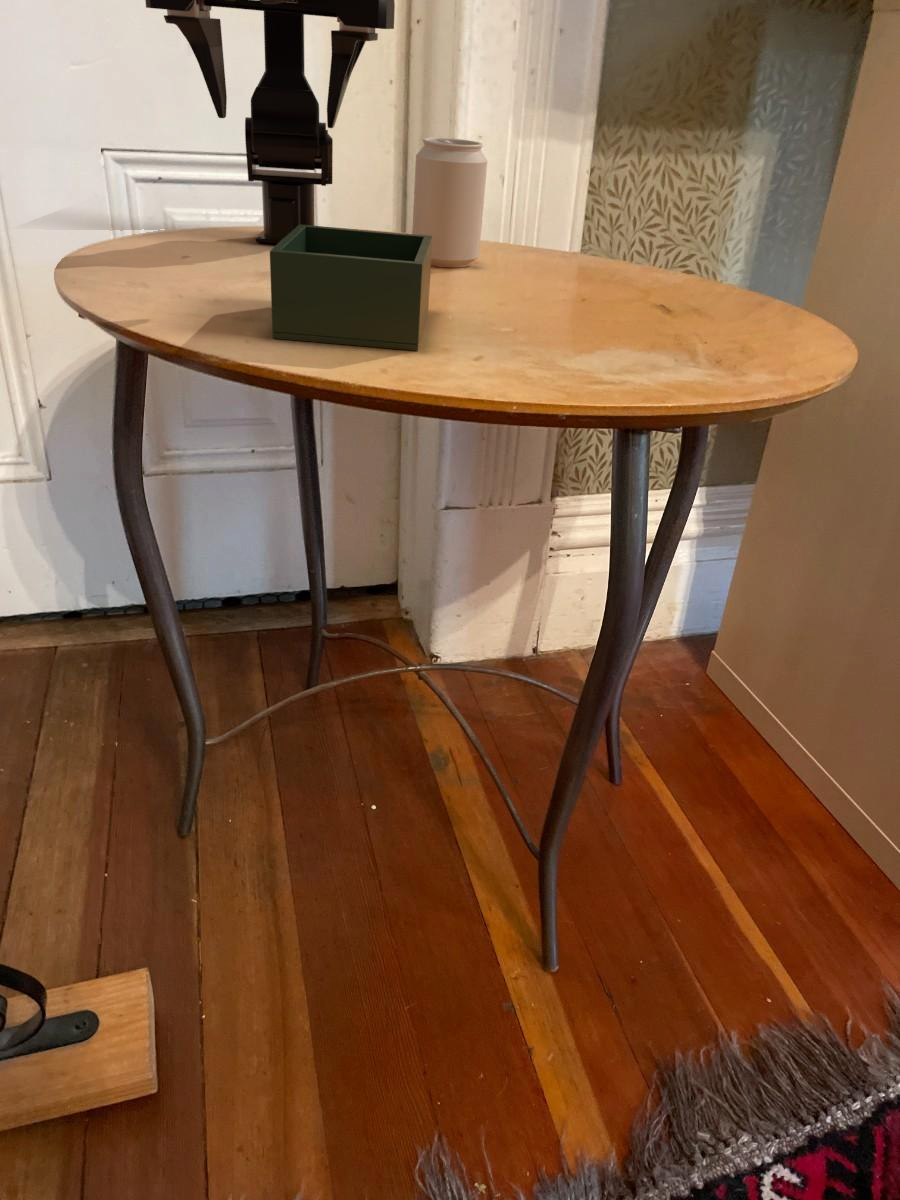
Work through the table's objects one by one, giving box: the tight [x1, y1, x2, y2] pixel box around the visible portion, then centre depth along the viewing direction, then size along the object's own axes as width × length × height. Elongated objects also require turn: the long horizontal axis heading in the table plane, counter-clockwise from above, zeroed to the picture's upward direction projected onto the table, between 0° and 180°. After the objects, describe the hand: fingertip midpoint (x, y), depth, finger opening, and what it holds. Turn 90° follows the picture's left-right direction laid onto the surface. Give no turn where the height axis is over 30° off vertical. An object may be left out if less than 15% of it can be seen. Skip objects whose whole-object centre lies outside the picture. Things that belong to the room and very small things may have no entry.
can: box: [411, 137, 488, 268], centre depth 94 cm, size 8×8×12 cm
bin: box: [269, 224, 433, 352], centre depth 72 cm, size 11×11×6 cm
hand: (276, 122), depth 75 cm, fingers open, 9 cm apart
